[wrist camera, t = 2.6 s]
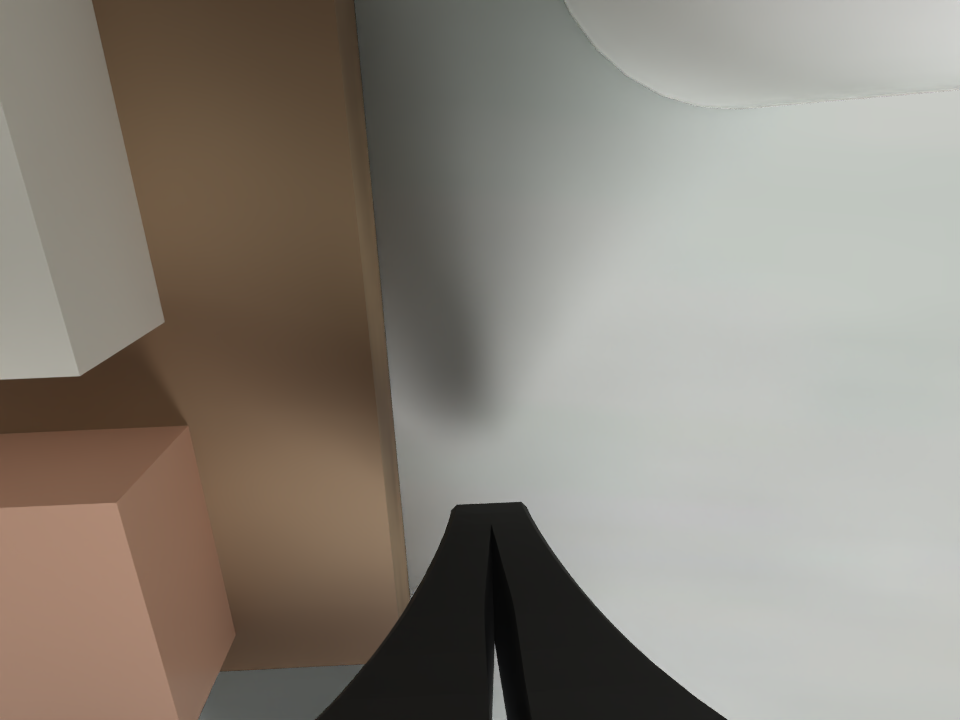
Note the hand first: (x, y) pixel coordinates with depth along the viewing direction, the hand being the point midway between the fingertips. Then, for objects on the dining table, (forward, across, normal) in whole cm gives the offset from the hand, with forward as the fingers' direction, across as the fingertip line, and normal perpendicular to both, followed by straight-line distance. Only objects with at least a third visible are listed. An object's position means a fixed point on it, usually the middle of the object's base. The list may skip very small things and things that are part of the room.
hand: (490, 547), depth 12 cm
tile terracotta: (+1, +8, 0) cm, 8 cm away
